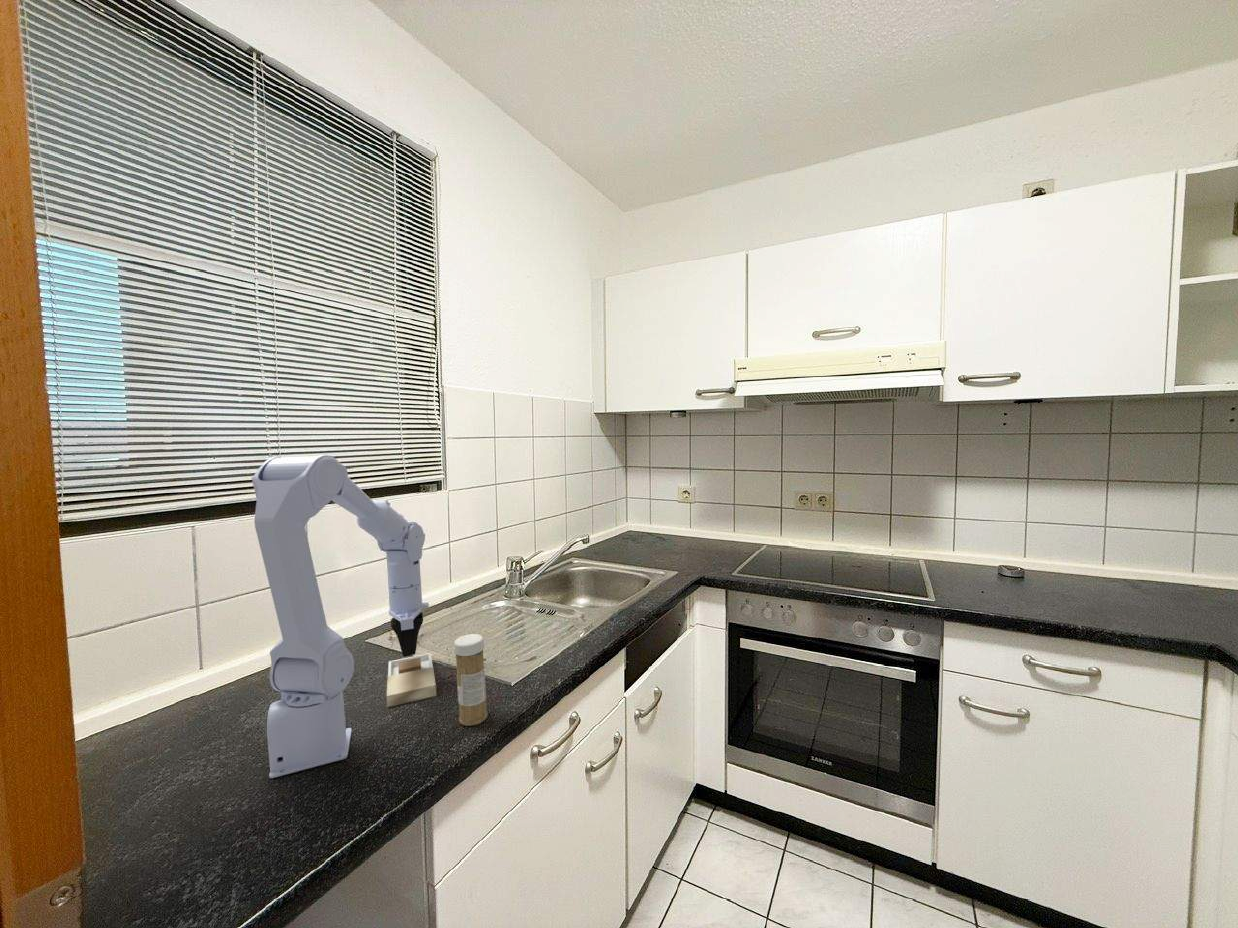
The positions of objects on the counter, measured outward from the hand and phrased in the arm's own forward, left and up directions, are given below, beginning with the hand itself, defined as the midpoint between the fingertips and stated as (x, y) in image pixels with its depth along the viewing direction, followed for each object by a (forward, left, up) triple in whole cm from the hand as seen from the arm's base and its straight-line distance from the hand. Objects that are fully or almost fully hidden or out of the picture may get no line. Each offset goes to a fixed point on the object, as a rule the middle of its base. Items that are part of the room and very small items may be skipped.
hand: (409, 654), depth 95 cm
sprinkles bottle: (+9, -20, -5) cm, 22 cm away
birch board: (0, -5, -5) cm, 7 cm away
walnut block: (0, +2, -5) cm, 5 cm away
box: (0, +4, -5) cm, 6 cm away
